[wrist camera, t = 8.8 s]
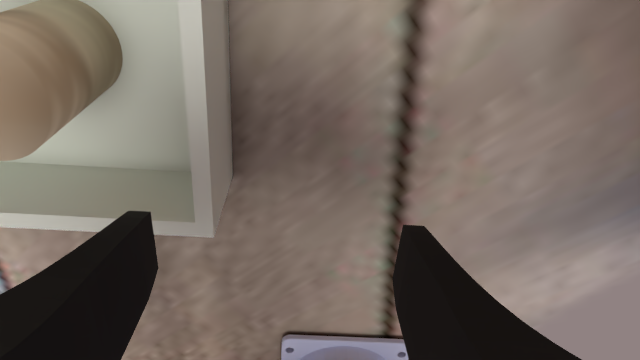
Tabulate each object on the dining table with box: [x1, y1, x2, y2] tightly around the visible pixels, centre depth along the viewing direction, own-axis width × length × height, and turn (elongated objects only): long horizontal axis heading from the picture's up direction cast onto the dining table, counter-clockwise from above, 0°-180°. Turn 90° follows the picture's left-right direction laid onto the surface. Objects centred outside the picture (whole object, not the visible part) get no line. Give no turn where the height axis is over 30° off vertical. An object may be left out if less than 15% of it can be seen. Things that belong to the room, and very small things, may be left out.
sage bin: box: [0, 0, 233, 238], centre depth 17 cm, size 12×12×5 cm
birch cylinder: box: [0, 0, 123, 161], centre depth 16 cm, size 4×4×6 cm
